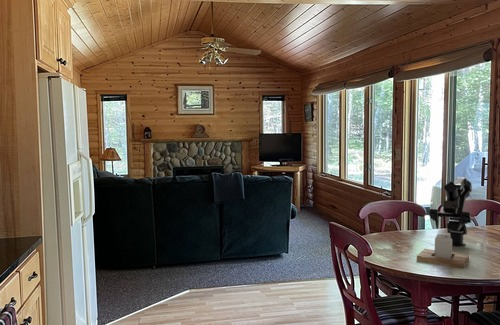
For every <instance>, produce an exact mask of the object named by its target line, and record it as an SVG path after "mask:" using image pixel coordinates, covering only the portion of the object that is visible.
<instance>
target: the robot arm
mask: <svg viewBox="0 0 500 325" xmlns="http://www.w3.org/2000/svg"><path fill="white" fill-rule="evenodd" d="M443 189H444V193H445V197H446V200H443V203H442V211H439V209H437V208H429V209H428V210H429V211H428V214H429V218H430V219H431V220H432V221H435V222H434V223H435V226H436V227H435V228H436V229H437V230H438V228H439V224H440V217H446V218H449V219H448V221H447V224H446V228H447V230H446V231H447V234H449V236H451V237H450V238H451V239H452V246H456V247H462V246H466V245H467V244H466V243H464V236H465V235H468V234H467V233H468V231H467V230H468V228H467V224H471V223H472V215H471V212H470V211H464V210H465V206H466V205H465V204H466V200H467V198H469V197H470V196H471V193H472V192H473V186H472V182H471V181H469V180H468V178H467V177H465V176H457V177H456V178H455V180H454V181H449V182H448V183H446V184H445V185H444V187H443Z"/></svg>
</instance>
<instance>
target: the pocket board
mask: <svg viewBox="0 0 500 325" xmlns="http://www.w3.org/2000/svg"><path fill="white" fill-rule="evenodd" d="M469 261H470V255H469V254H463V253H458V252H452V259H449V258H442V257H436V256H435V249H430V248H424V249H422V250H421V251H420V252H419V253H418V254H417V255H416V262H421V263H428V264H434V265H439V266H440V265H441V266H447V267H450V268H451V267H453V268H458V269H464V268H466V267H465V266H466V265H467V264H468V262H469Z"/></svg>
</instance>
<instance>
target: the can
mask: <svg viewBox="0 0 500 325" xmlns="http://www.w3.org/2000/svg"><path fill="white" fill-rule="evenodd" d="M450 237H451V236H450V234H442V233H439V234H436V236H435V238H434V250H435V256H436V257H442V258H449V259H452V253H453V245H452V239H451V238H450Z"/></svg>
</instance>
